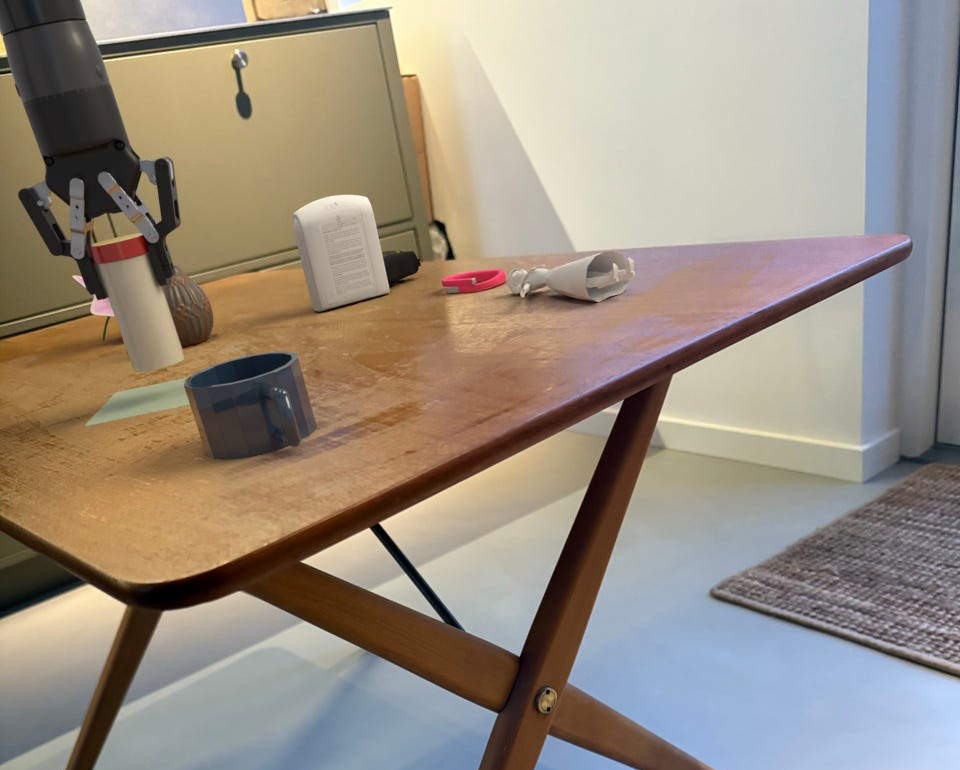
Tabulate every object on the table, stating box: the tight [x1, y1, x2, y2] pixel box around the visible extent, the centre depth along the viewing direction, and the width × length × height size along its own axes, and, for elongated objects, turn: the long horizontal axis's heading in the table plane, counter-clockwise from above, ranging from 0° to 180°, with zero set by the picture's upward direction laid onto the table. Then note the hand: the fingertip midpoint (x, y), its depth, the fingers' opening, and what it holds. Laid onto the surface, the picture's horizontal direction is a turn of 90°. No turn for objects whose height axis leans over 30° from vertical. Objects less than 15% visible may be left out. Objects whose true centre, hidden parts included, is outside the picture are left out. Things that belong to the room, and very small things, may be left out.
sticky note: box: [83, 376, 190, 428], centre depth 101 cm, size 14×12×1 cm
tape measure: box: [382, 249, 422, 286], centre depth 135 cm, size 7×7×4 cm
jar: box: [88, 232, 186, 373], centre depth 97 cm, size 5×5×12 cm
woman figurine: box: [506, 249, 636, 303], centre depth 108 cm, size 12×4×18 cm
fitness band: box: [441, 268, 507, 294], centre depth 122 cm, size 8×6×2 cm
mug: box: [184, 350, 318, 460], centre depth 79 cm, size 12×9×6 cm
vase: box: [162, 265, 214, 348], centre depth 123 cm, size 7×7×9 cm
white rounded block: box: [292, 194, 391, 312], centre depth 126 cm, size 10×4×12 cm, turn 116°
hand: (134, 290), depth 96 cm, fingers closed on jar, 5 cm apart
